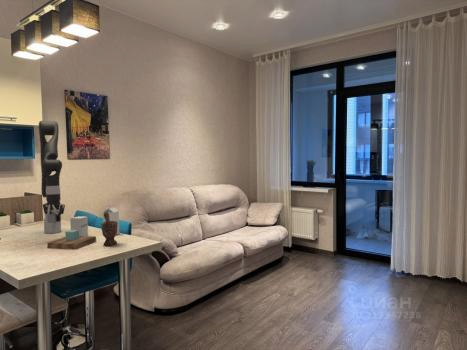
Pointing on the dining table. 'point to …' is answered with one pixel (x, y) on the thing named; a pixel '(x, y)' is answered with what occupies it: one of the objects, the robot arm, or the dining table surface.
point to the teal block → (72, 235)
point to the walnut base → (71, 242)
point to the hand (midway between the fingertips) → (54, 221)
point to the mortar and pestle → (109, 230)
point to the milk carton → (113, 215)
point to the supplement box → (80, 225)
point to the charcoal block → (52, 218)
